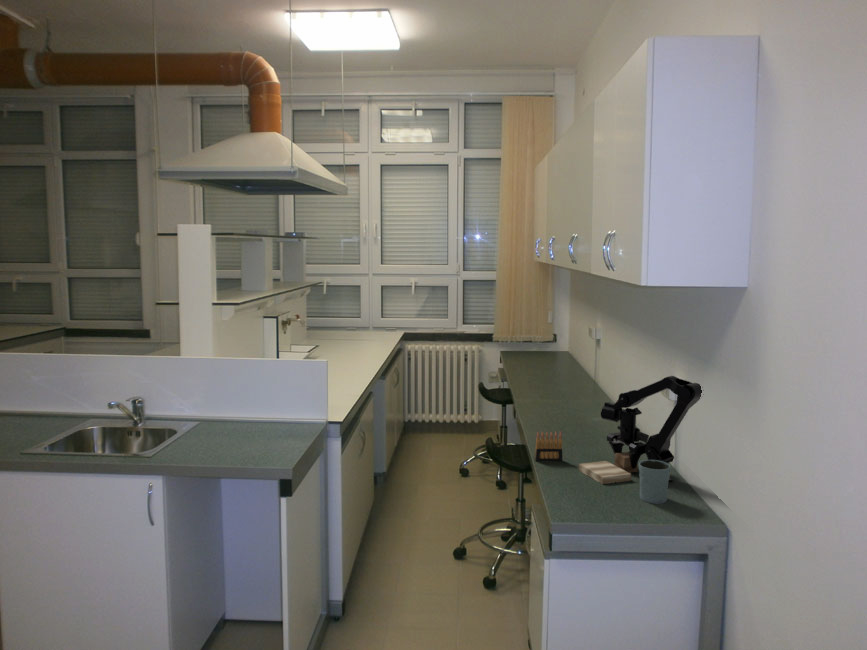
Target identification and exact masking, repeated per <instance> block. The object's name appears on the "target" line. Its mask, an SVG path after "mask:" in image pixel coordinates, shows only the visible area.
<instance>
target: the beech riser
mask: <svg viewBox="0 0 867 650" xmlns="http://www.w3.org/2000/svg"><path fill="white" fill-rule="evenodd" d="M578 471H579V472H581V473H583V474H584V475H586V476H587V475H588V477H589V478H591V479H592V480H595V481H596V482H598V483H599V482H600V483H599V484H602V485H606V484H615V482H616V483H623V482H630V481H632V473H631V472H630V473H629V472H627V471H625V470H623V469H621V468H619V467H617V466H615V464H613V463H611V462H610V461H607V460H603V461H593V462H583V463H578Z"/></svg>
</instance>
